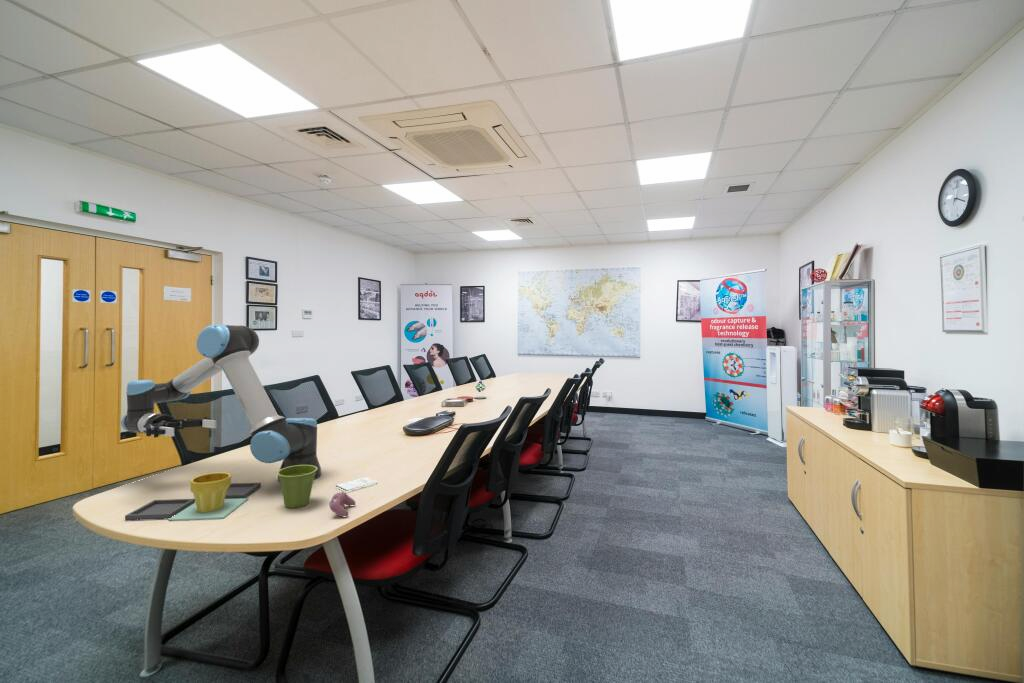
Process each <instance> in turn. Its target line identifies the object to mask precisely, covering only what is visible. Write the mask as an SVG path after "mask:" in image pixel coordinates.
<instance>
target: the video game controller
mask: <svg viewBox="0 0 1024 683" xmlns="http://www.w3.org/2000/svg"><path fill="white" fill-rule="evenodd" d="M347 505H355V506H356V501H355V500H354V499H353V498H352V497H351V496H350V495H348V493H346V492H344V491H342V490H341V491H339V492H337V493H334V495H333V496H332V497H331V500H330V501H329V508H330V510H331V511H332V513H335V514H336V515H337V516H339V517H340V516H347V517H348V516H349V511H348V510H347V509H346V506H347ZM344 508H345V509H344Z"/></svg>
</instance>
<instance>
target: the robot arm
mask: <svg viewBox="0 0 1024 683" xmlns="http://www.w3.org/2000/svg"><path fill="white" fill-rule="evenodd" d="M259 345H260V338H259V335H258V333H257V332H256V331H255V330H254V329H253V328H251V327H248V326H246V325H230V324H228V325H227V324H210V325H207V326H205V327H204V328H203V329H201V331H200V332H199V333H198V336H197V338H196V349H197V351H198V353H199V354H200V355H201V356H203V357H204V358H202V359H201V360H199V361H198V362H196V363H195V364H194V365H192V366H190V367H188V368H187V369H186V370H184V371H183V372H181V373H180V374H178V375H176V376H175V377H174V378H172V379H170V380H169V381H168V382H161V383H155V381H154V380H153V379H139V380H137V379H136V380H130V381H128V383H127V386H126V404H127V405H126V406H127V407H126V408H127V409H126V414H124V416H123V417H122V418H121V421H120V426H121V428H122V429H123V430H124V431H127V432H129V433H132V434H133V433H135V434H144V435H146V437H151V436H153V438H154V439H155V438H159V436H165V437H175V430H183V429H186V428H196V427H197V428H198V427H202V428H209V429H218V427H217V421H218V420H217V419H216V420H215V419H214V420H213V419H212V418H211V417H207V416H205V417H202V418H200V417H199V418H186V417H185V418H180V419H177V418H174V417H173V416H171V415H170V414H165V413H155V405H156V404H162V403H168V402H174V401H180V400H184V399H187V398H188V397H189V396H190V394H191V392H192V391H193V390H194V389H196V388H197V387H198V386H200V385H202V384H203V383H205V382H206V381H208V380H209V379H211V378H213V377H214V376H216V375H217V374H219V373H220V372H222V371H223V373H224V374H225V377H226V379H227V381H228V382H229V385H230V386H231V388H232V390H233V392H234V395H236V397H237V399H238V401H239V403H240V405H241V408H242V409H243V411H244V413H245V415H246V416H247V419H248V420H249V423H250V425H251V426H252V428H251V430H250V433H249V434H250V435H251V437H252V438H251V440H250V445H249V449H250V452H251V453H250V454H252V456H253V457H254V459H256V460H258V461H259V462H261V463H264V464H273V463H277V462H281V461H282V462H281V464H280V467H279V470H280V469H283V468H286V467H290V466H295V465H313V466H316V467H317V468H318V469H317V471H316V472H315V477H314V478H316V477H318V476H319V477H320V476H321V475H322V467H321V464H320V461H319V458H318V456H317V450H318V449H317V448H318V443H317V442H318V422H317V420H316V419H315V418H313V417H290V418H285V416H282V415H279V414H278V413H277V410H276V408H275V407H274V404H273V403H272V401H271V399H270V397H269V395H268V394H267V392H266V389H265V388H264V386H263V384H262V382H261V380H260V378H259V377H258V374H257V373H256V371H255V368H254V367H253V365H252V363H251V361H250V359H249V357H250V356H251V355H253V354H254V353H255V352H256V351H257V350H258V348H259ZM319 477H318V478H319ZM316 479H317V478H316ZM278 480H279V481H278ZM277 481H278V482H280V478H279V475H277Z"/></svg>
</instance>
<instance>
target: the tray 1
mask: <svg viewBox="0 0 1024 683" xmlns="http://www.w3.org/2000/svg"><path fill="white" fill-rule="evenodd" d="M194 503H195V498H178V499H177V498H175V499H174V498H172V499H170V498H169V499H153V500H151V501H150V502H148V503H146V504H144V505H143V506H140V507H139V508H137V509H135V510H133V511H131V512H129V513H127V514H125V515H124V521H125V520H131V521H141V520H140V519H157V520H165V519H164V518H171V517H172V516H174V515H176V514H178V513H179V512H181V511H182V510H184V509H186V508H187V507H189V506H190V505H192V504H194ZM137 519H138V520H137Z"/></svg>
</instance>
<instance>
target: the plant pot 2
mask: <svg viewBox="0 0 1024 683" xmlns="http://www.w3.org/2000/svg"><path fill="white" fill-rule="evenodd" d="M317 469H318V468H317V467H316V466H313V465H295V466H290V467H286V468H283V469H280V468H279V470H277V472H276V474H277V476H278V475H279V478H280V481H279V482H280V485H281V491H282V499H283V504H284V507H286V508H288V509H295V508H298V507H301V506H302V507H304V505H305V506H306V504H307V505H308V504H309V503H310V498H311V494H312V488H313V484H314V480H315V479H314V477H315V472H316V471H317Z"/></svg>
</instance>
